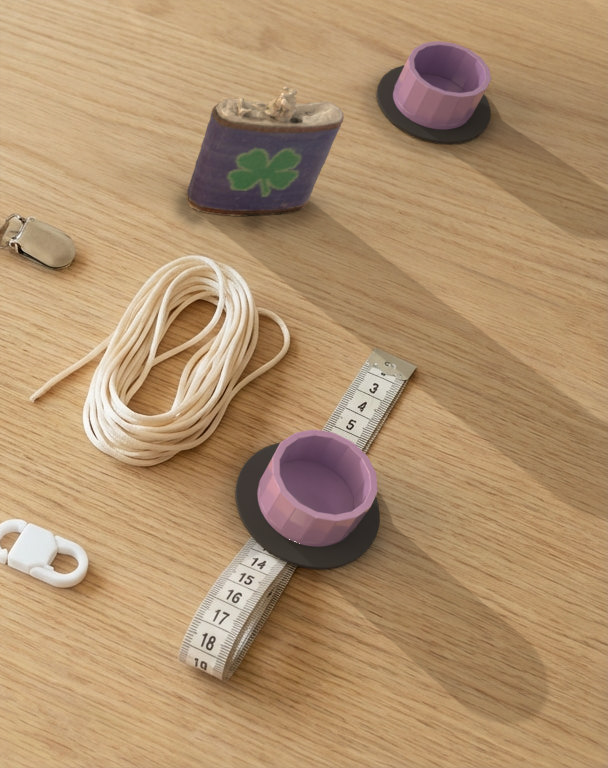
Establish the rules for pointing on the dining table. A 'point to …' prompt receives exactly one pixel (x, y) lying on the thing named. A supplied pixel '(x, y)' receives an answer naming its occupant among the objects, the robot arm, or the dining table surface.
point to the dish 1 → (317, 488)
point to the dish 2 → (441, 85)
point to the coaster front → (286, 548)
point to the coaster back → (448, 136)
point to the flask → (262, 155)
